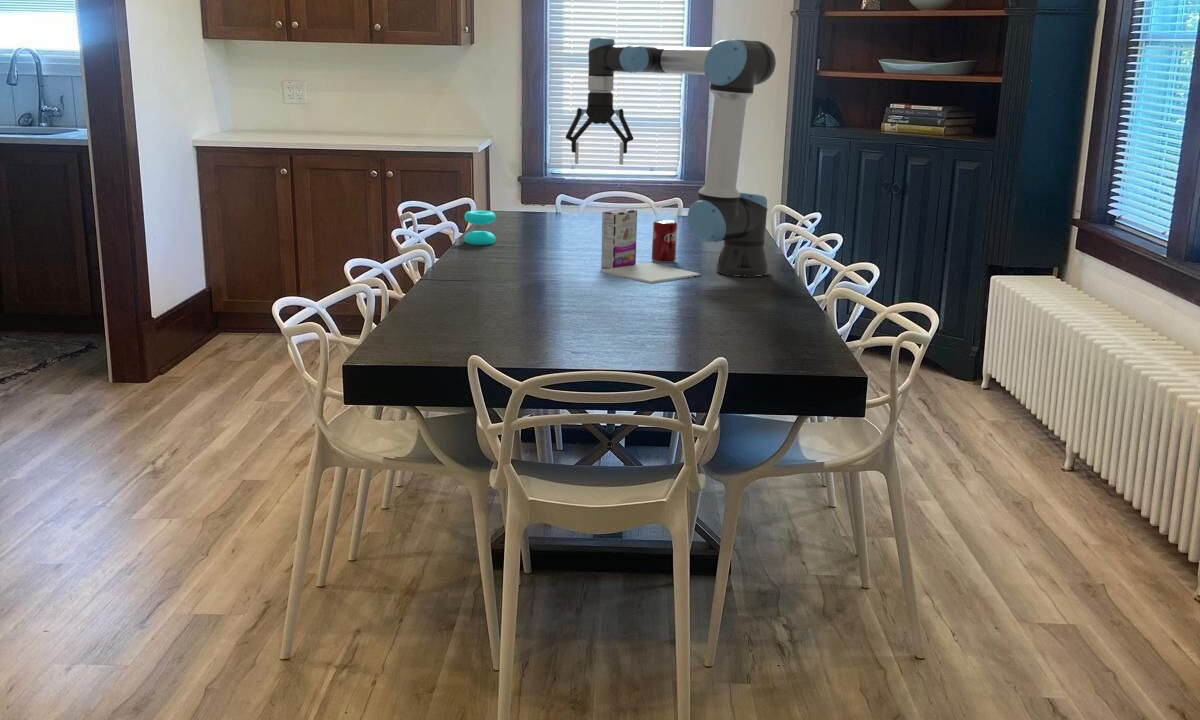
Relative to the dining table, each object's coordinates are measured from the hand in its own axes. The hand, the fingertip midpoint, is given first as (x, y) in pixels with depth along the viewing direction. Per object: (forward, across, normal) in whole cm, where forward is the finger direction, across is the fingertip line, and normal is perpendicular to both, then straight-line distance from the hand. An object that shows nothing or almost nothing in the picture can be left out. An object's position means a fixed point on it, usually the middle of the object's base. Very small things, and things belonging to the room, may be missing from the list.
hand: (598, 164), depth 339 cm
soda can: (+28, -19, +9) cm, 35 cm away
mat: (+28, -12, +30) cm, 42 cm away
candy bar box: (+28, -4, +19) cm, 34 cm away
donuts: (+28, +35, -20) cm, 49 cm away
